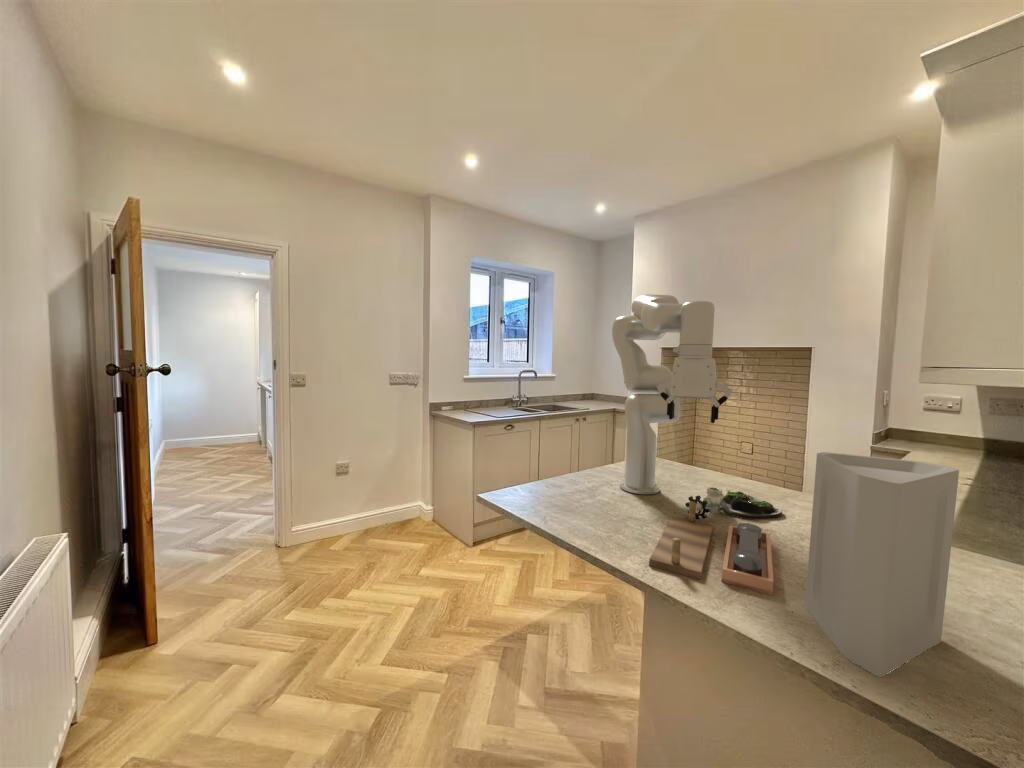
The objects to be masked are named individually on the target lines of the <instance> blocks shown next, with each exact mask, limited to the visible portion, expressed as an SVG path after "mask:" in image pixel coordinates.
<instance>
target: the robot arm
mask: <svg viewBox="0 0 1024 768" xmlns="http://www.w3.org/2000/svg"><path fill="white" fill-rule="evenodd" d="M630 307H631V313H632V315H631V314H629V315H628V314H627V315H622V316H618V317H617V318H616V319H615V320H614V321H613V323H612V326H611V335H612V341H613V345H614V347H615V350H616V351H617V354H618V355H619V356H618V357H619V358H620V363H621V370H622V375H623V380H624V385H625V388H626V390H627V391H628V392H629V393H634V394H631V395H629V396H628V397H627V398H626V399H625V403H624V412H625V414H624V415H625V422H626V437H625V438H626V439H625V440H626V441H625V443H626V445H625V462H624V463H625V464H624V465H625V467H624V480H621V481H620V482H619V488H621V490H622V491H625V492H628V493H631V494H637V495H655V494H658V493H659V492H660V485H658V484H657V483H655V482H656V466H657V463H656V461H657V443H658V442H657V439H658V438H657V434H656V432H655V431H654V429H653V428H652V427H651V424H671V423H675V422H677V421H679V419H680V418H681V415H682V408H681V401H680V398H683V399H684V398H685V399H686V398H688V399H701V400H709V401H710V402H711V404H712V406H711V414H710V423H711V424H715V422H716V420H717V421H718V420H719V409H720V406H721V405H722V404H724V403H725V402H726V401H728V399H729V397H730V396H731V394H732V393H733V389H732V387H731V388H730V387H729V386H727V385H725V384H723V383H721V382H719V381H718V380H717V365H716V364H717V363H716V360H715V358H714V357H713V343H714V325H715V304H714V303H713V302H712V301H708V300H691V301H686V302H685V303H680V302H679V299H677V298H676V296H674V295H671V294H650V293H649V294H647V293H646V294H642V295H639V296H637V297H636V298H635V299H633V302H632V304H631V306H630ZM666 333H677V334H679V344H678V346H673V348H672V352H673V353H676V354H677V355H678V356H677V357H674V360H673V367H672V370H671V369H670V368H669V367H668V366H665V365H659V364H658V365H656V364H655V365H651V364H649V363H648V361H647V356H646V352H645V351H644V350H643V348H642V347H641V346H640V345H639V344H638V343H637V342H635V341H658V340H660V339H662V338H663V337H664V336H665V335H666ZM634 340H635V341H634ZM717 389H719V390H721V391H723V392H724V394H723V395H722V396H721V397H720V398H717V396H716V393H717Z"/></svg>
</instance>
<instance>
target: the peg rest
mask: <svg viewBox="0 0 1024 768" xmlns="http://www.w3.org/2000/svg"><path fill="white" fill-rule="evenodd" d="M688 502H689V507H688V511H689V514H688V518H685V517H681V516H677V515H671V517H670V519H669V521H668V523H667V525H666V526H665V528H664V530H663V532H662V534H661V536H660V538H659V540H658V541H657V544H656V545H655V548H653V549H654V550H653V551H652V553H651V555H650V557H649V560H648V563H649V564H648V566H649V567H652V568H656V569H659V570H662V571H663V570H664V571H667V572H671V573H675V574H678V575H681V576H685V577H690V578H693V579H697V580H701V579H702V576H703V571H704V567H705V563H706V560H707V556H708V552H709V551H708V550H709V548H710V543H711V539H712V536H713V532H714V523H710V522H707V521H701V520H697V519H695V514H696V513H697V510H696V503H695V502H690V501H688Z"/></svg>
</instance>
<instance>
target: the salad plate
mask: <svg viewBox="0 0 1024 768" xmlns="http://www.w3.org/2000/svg"><path fill="white" fill-rule="evenodd" d="M721 498H722V504H721V506H720V507H721V511H723V510H724V511H723V512H724V513H726V512H727V513H726V514H727V515H730V514H731V516H733V515H734V516H733V517H736V516H738V517H737V518H740V517H742V518H741V519H745V518H746V519H747V520H772V519H773V518H774V519H777V517H778V518H779V517H780V516H782V515H783V509H782V508H781V507H778V506H777V505H773V504H772V503H770V502H769V501H767V500H763V499H761V498H758V497H757V496H754V495H751V494H750V495H749V494H746V493H744V492H742V491H739V490H738V491H730V490H729V489H727V492H726V493H722V496H721ZM748 501H749V502H751V503H749V502H748ZM746 519H745V520H746Z"/></svg>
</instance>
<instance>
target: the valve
mask: <svg viewBox="0 0 1024 768" xmlns="http://www.w3.org/2000/svg"><path fill="white" fill-rule="evenodd" d="M706 490H707V491H706V494H707V495H706V497H704V498H703V499H702V497H701V496H700V495H696V496H695V497H694V496H688V502H686V503H685V504H684V505H685V507H686V508H689V502H695V503H696V514H695V520H697V519H698V520H699V519H700V517H701V519H702V520H706V519H707V518H708V515H707V514H708V513H710V512H713V513H712V514H717V513H718V514H719V512H720V513H722V509H721V507H720V506H721V504H722V498H721V496H722V494H723V490H722V488H718V487H715V486H710V487H707V489H706ZM701 499H702V500H701ZM697 511H698V512H697ZM687 514H688V515H689V510H687Z"/></svg>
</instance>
